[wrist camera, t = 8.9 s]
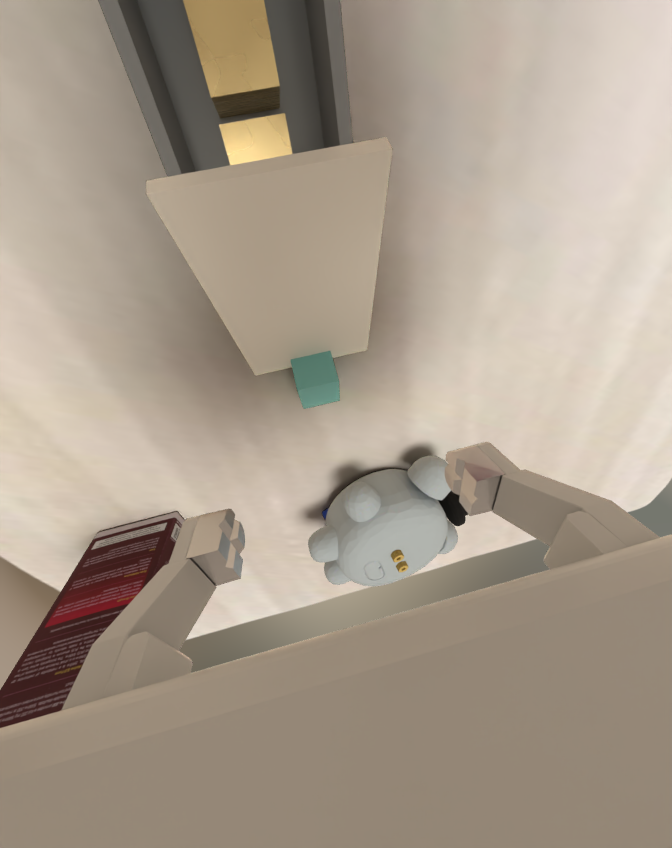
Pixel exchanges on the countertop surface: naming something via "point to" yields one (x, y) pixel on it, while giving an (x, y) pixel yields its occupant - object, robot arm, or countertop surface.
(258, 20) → the brass block
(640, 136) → the countertop surface
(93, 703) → the robot arm
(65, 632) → the supplement box
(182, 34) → the tub
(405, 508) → the figurine
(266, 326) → the lid
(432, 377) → the countertop surface
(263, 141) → the brass block
